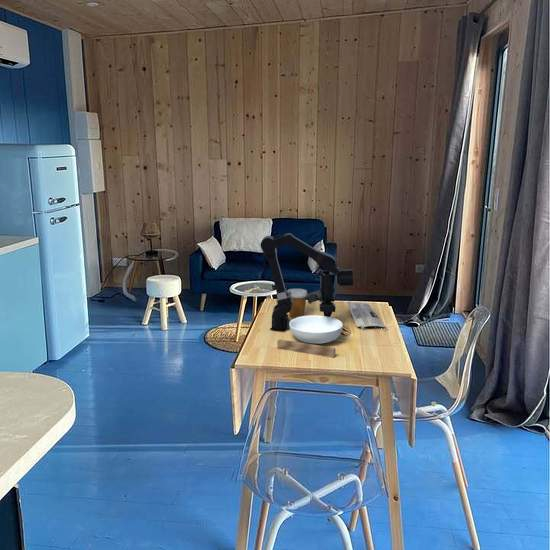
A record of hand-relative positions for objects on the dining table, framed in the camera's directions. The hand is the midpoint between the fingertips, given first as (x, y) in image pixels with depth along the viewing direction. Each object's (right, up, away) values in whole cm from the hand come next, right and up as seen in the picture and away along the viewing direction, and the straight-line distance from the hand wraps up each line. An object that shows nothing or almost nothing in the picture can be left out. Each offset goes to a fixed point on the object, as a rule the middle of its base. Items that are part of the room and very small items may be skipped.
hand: (326, 322), depth 216 cm
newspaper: (+19, 0, +19) cm, 26 cm away
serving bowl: (-5, -6, -10) cm, 13 cm away
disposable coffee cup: (-12, +1, +19) cm, 22 cm away
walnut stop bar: (-10, -9, -23) cm, 27 cm away
